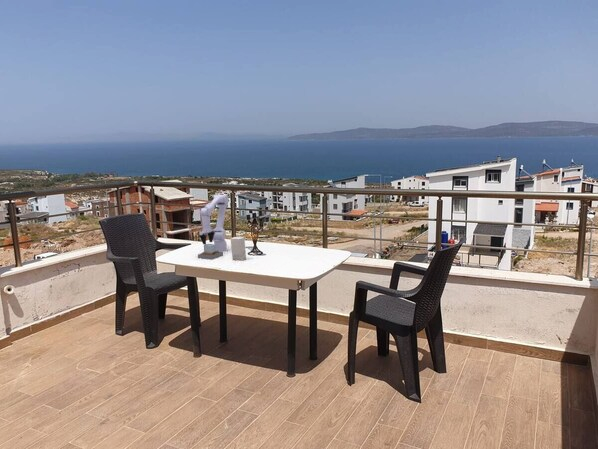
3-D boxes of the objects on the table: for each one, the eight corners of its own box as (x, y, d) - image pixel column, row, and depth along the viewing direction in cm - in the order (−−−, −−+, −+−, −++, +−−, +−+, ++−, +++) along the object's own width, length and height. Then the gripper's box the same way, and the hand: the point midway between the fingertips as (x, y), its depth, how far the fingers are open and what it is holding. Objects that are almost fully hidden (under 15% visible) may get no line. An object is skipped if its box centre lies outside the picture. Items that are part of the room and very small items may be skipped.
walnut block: (209, 255, 318) (209, 249, 317) (218, 256, 314) (218, 250, 314) (202, 257, 311) (202, 252, 310) (211, 258, 307) (211, 253, 307)
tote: (209, 255, 321) (209, 250, 321) (223, 256, 315) (222, 252, 315) (198, 259, 310) (197, 254, 310) (212, 260, 304) (211, 255, 304)
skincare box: (246, 258, 308) (245, 236, 306) (242, 260, 302) (241, 238, 299) (235, 257, 310) (234, 236, 308) (231, 260, 304) (230, 238, 302)
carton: (208, 250, 316) (208, 243, 315) (216, 251, 313) (215, 244, 312) (204, 251, 312) (203, 245, 311) (211, 252, 308) (211, 245, 308)
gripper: (208, 222, 320) (209, 240, 322) (195, 226, 307) (196, 244, 310) (216, 223, 317) (217, 241, 319) (203, 226, 304) (204, 245, 306)
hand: (207, 243), depth 314 cm, fingers open, 7 cm apart
